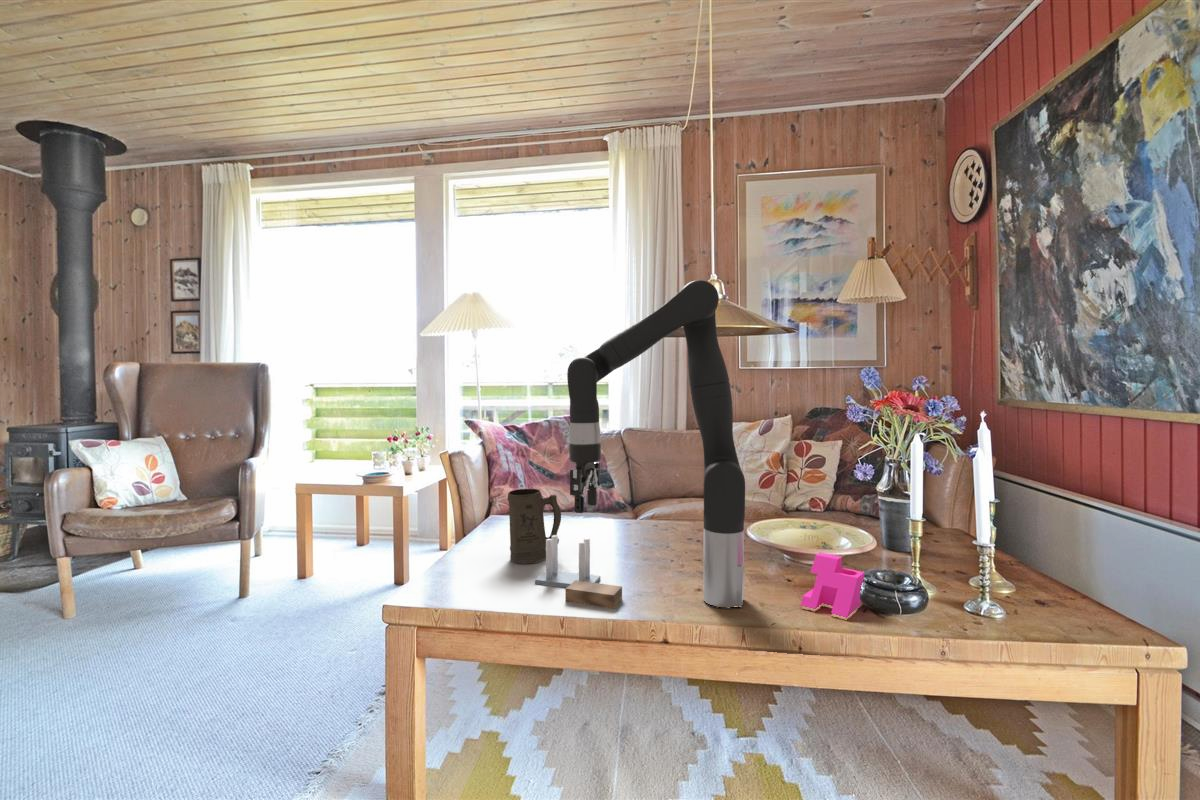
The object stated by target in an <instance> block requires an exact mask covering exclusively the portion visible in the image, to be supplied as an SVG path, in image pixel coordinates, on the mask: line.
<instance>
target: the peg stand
mask: <svg viewBox="0 0 1200 800" xmlns="http://www.w3.org/2000/svg"><path fill="white" fill-rule="evenodd" d="M558 539H559V537H558V534H557V535H553V536H552V539H546V558H545V571H544V572H543V573H542V574H540V575H539V576H537V578H535V579H534V584H536V585H542V586H543V585H544V586H552V587H559V588H560V587H561V588H567V587H568V586H569V585H570V584H572V583H573V582H574V581H575V580H578V581H585V582H593V583H599V582H600V581H601V575H597V574H596V575H593V574H591V540H590V539H591V538H589V537H587V538H583V541H579V542H578V573H576V572H570V571H562V570H561V571H560V570H559V569H558V568H559V567H558V565H559V564H558V563H559V561H558V557H559V556H558V554H559V553H558V551H559V548H558V545H559V543H558Z"/></svg>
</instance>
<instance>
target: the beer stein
mask: <svg viewBox="0 0 1200 800" xmlns="http://www.w3.org/2000/svg"><path fill="white" fill-rule="evenodd" d="M506 498H507V502H508V513H509V542H510V546H509V550H510V554H509V555H510V557H509V559H510V561H511V562H512V561H513V563H514V562H515V563H516V564H534V563H539V562H541V561H543V560H546V539H552V536H553V535H557V536H558V531H559V528H560V526H561V521H562V512H561V506H560V505H559V503H558V500H557V495H556V494H550V496H548V497H544V498H543V495H542V492H541V489H538V488H521V489H520V488H519V489H513V490H511V491H508V493H507V497H506ZM545 505H549V506H550V507H551V508H552V511H553V521H552V522H553V524H552V528H551V532H550V535H549V536H546V527H545V518H544V511H543V509H544V507H545ZM559 543H560V539H559V538H558V544H559Z"/></svg>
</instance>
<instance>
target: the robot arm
mask: <svg viewBox="0 0 1200 800" xmlns="http://www.w3.org/2000/svg"><path fill="white" fill-rule="evenodd" d="M719 299H720V297H719V292H718V290H717V287H716V286H715V285H714V284H712V283H711V282H709V281H707V280H703V279H696V280H692V281H690V282H688V283H687V284H686V285H684V286H683V287H682V288H681V289H680V290H679V291H678V292H677V293H676V294H675V295H674V296H673V297H672V298H670V299H668V301H667V302H665V303H664V304H663V305H662V306H660V307H659V308H658V309H656V310H655V311H653V312H652V313H650V314H648V315H647V316H645V317H643V318H642V319H641V320H640V319H639V321H637V322H636V323H634V324H632V325H631V326H628V327H627V328H625V329H624V330H621V332H619V333H617V334H615V335H614V336H612V337H611V338H609V339H608V340H606V341H605V342H603V343H602V344H601V345H600V346H599V347H598V348H597V349H595V350H593V351H592V352H590V353H589V354H587V355H585V356H584V357H583V356H580V357H577V358H574V359H572V361H570V363H569V365H568V368H567V374H566V376H567V379H566V380H567V389H568V397H569V430H568V437H569V438H568V441H569V442H568V443H569V445H568V446H569V447H568V448H569V461H570V462H572V463H575V464H576V465H575V468H570V469H569V494H570V496H573V497H574V512H575V513H576V514H583V513H585V511H586V510H585V509H586V507H585V504H586V503H585V494H586V490H587V505H588V506H590V507H591V506H595V507H596V506H597V504H598V497H597V496H598V492H597V491H598V489H599V487H600V486H601V468H600V467H601V464H600V462H601V459H602V443H601V439H602V438H601V436H602V435H601V433H602V432H601V427H600V407H599V406H600V404H599V401H598V393H597V392H598V391H597V390H598V389H597V388H598V387H597V384H598V382H600V381H601V380H602V379H604V378H605V377H607V376H608V375H609V374H611V373H612V372H613V371H615V370H617V369H619V368H621V367H622V366H624V365H626V364H628V363H629V362H631V361H633V360H634V359H636V358H638V357H639V356H641V355H642V354H643V353H645V352H646V351H648V350H649V349H650V348H652V347H653V346H654V345H656V344H657V343H658V342H660V341H661V340H662V339H663V338H666V336H668V335H669V334H671V333H673V332H675V331H677V330H679V329H681V328H682V327H683V331H684V335H685V340H686V341H685V342H686V347H687V367H688V368H687V369H688V371H687V372H688V378H689V379H688V381H689V382H688V383H689V387H690V388H689V389H690V395H691V401H692V402H691V403H692V407H693V411H694V415H695V419H696V423H697V426H698V430H699V433H700V436H701V441H702V448H703V463H704V470H703V471H704V473H703V555H702V556H703V564H702V565H703V569H702V571H703V572H702V573H703V574H702V575H703V578H702V579H703V580H702V581H703V582H702V586H703V588H702V589H703V590H702V597H703V598H702V601H703V602H704V601H705V602H706V603H708V604H710V605H714V606H719V607H734V606H741V607H742V605H743V606H744V602H743V600H745V559H744V557H745V556H744V554H745V553H744V551H745V550H744V548H745V547H744V545H745V543H744V541H745V540H744V539H745V518H746V517H745V516H746V480H745V479H746V478H745V475H744V473H743V471H742V468H741V466H740V462H739V459H738V454H737V451H736V445H735V440H734V432H733V431H734V430H733V429H734V427H733V425H734V418H733V417H734V416H733V415H734V414H733V410H734V409H733V398H732V397H733V396H732V389H731V385H730V384H731V383H730V378H729V373H728V369H727V366H726V363H725V360H724V356H723V354H722V352H721V349H720V345H719V342H718V333H717V320H716V310H717V309H718V305H719V301H720V300H719ZM705 602H704V603H705ZM706 603H705V604H706ZM708 604H707V605H708ZM710 605H709V606H710ZM714 606H713V607H714ZM742 608H743V607H742Z"/></svg>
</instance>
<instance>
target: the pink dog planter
mask: <svg viewBox="0 0 1200 800" xmlns="http://www.w3.org/2000/svg"><path fill="white" fill-rule="evenodd" d="M842 558H843V557H842V556H839V555H834V554H828V553H824V552H818V553H817V554H815V557H814V560H813V563H812V567H811V569H810V573H811V574H814V575H816V579H815V581H814V586H813V588H812V589H811V590H808V592H806V593H805V594H803V595H802V598H801V602H800V604H799V606H800V605H801V606H805V607H809V608H813V609H816V608H817V607H819V605H821V604H822V603H824V604H827V605H831V606H833V608H832V609H831V612H830V614H831V613H832V614H836V615H839V616H843V617H846V618H847V617H848V616H849V615H850V614H851V613H852V612H853V611H854V610H855V609H856V608H857V607H858V606H859V605H860V604H861V600H860V589H861V585H862V583H863V580H864V581H865V571H859V570H856V569H851V568H850V569H849V568H845V567H842V563H843V562H842Z"/></svg>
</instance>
